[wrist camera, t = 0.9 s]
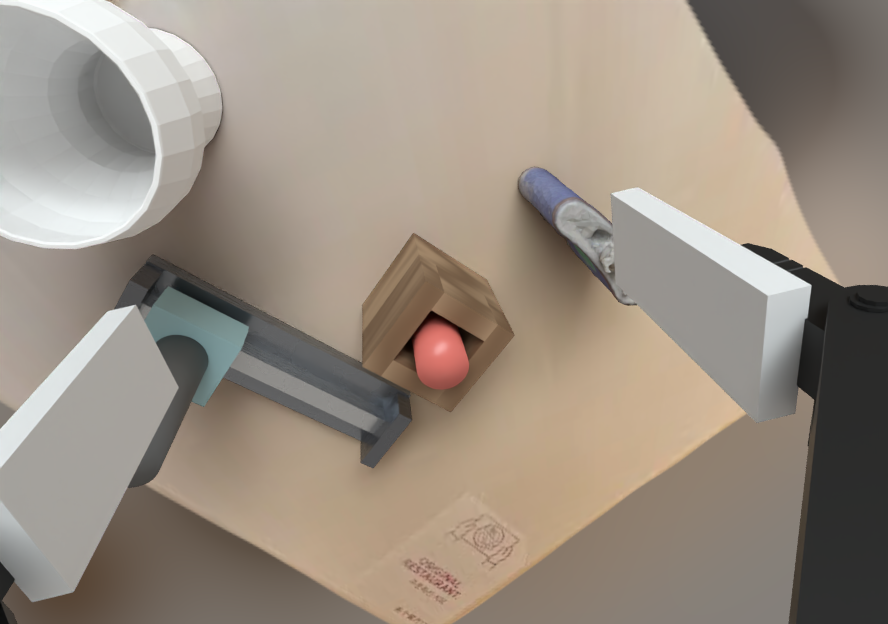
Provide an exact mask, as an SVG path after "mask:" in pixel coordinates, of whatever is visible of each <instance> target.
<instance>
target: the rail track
mask: <svg viewBox="0 0 888 624" xmlns="http://www.w3.org/2000/svg"><path fill="white" fill-rule="evenodd" d="M168 286H169V287H171V288H173V289H175V290H177V291H179V292H181V293H183V294H185V295H187V296H189V297H191V298H193V299H195V300H197V301H199V302H201V303H203V304H205V305H207V306H209V307H211V308H213V309H215V310H217V311H219V312H221V313H223V314H225V315H227V316H229V317H231V318H233V319H235V320H237V321H239V322H240V323H242V324H244V325H246V326H248V327H249V329H248V330H249V331H248V333H247V336H246V338H245V341H244V344H243V346H242V348H241V350H240V352H239V353H238V355H237V356H236V358H235V359H234V361H233V362H232V364H231V366H230V367H229V369H228V370H227V372H226V373H225V375H224V376H223V378H225V379H227V380H230V381H232V382H234V383H236V384H238V385H240V386H243V387H245V388H247V389H249V390H251V391H253V392H256V393H258V394H260V395H262V396H264V397H267V398H269V399H271V400H273V401H275V402H277V403H280V404H282V405H284V406H286V407H288V408H290V409H293V410H295V411H297V412H299V413H301V414H303V415H306V416H308V417H310V418H312V419H314V420H316V421H319V422H321V423H323V424H325V425H327V426H329V427H332V428H334V429H336V430H338V431H340V432H342V433H345V434H347V435H349V436H351V437H353V438H356V439H358V440H360V441H361V463H362V464H364V465H367V466H369V467H371V468H374V467H375V466H376V464H377V463H378V462H379V461H380V459H381V458H382V457H383V456H384V454H385V453H386V452H387V451H388V449H389V448H390V447H391V446H392V444H393V443H394V442H395V441H396V440H397V438H398V437H399V436H400V435H401V433H402V432H403V431H404V430H405V428H406V427H407V426H408V425H409V423H410V422H411V421H412V415H411V407H410V399H409V398H410V396H411V395H410V391H409V390H407V389H405V388H403V387H401V386H399V385H397V384H395V383H393V382H391V381H389V380H387V379H386V378H384V377H382V376H380V375H378V374H376V373H374V372H372V371H370V370H368V369H366V368H364V367H362V363H361V362H359V361H357V360H355V359H353V358H351V357H349V356H347V355H345V354H343V353H341V352H339V351H337V350H336V349H334V348H332V347H330V346H328V345H326V344H324V343H322V342H320V341H318V340H316V339H314V338H312V337H311V336H309V335H307V334H305V333H303V332H301V331H299V330H297V329H295V328H293V327H291V326H289V325H287V324H285V323H284V322H282V321H280V320H278V319H276V318H274V317H272V316H270V315H268V314H266V313H264V312H262V311H260V310H259V309H257V308H255V307H253V306H251V305H249V304H247V303H245V302H243V301H241V300H239V299H237V298H235V297H233V296H232V295H230V294H228V293H226V292H224V291H222V290H220V289H218V288H216V287H214V286H212V285H210V284H208V283H207V282H205V281H203V280H201V279H199V278H197V277H195V276H193V275H191V274H189V273H187V272H185V271H183V270H181V269H180V268H178V267H176V266H174V265H172V264H170V263H168V262H166V261H164V260H162V259H160V258H158V257H156V256H155V255H152V256H151V257H150V258H149V259H148V260H147V262H146V264H145V265H144V266H143V267H142V268H141V269H140V270H139V271H138V272H137V273H136V274H135V275H134V276H133V277H132V278H131V279H130V281H129V283H128V284H127V286H126V288H125V290H124V292H123V294H122V296H121V298H120V299H119V301H118V303H117V305H116V307H115V309H120V308H124V307H128V306H132V305H136V306H137V308H138V310H139V312H140V314H141V316H142V317H143V319H144V320H145V319H146V317H147V315H148V313H149V312H150V310H151V308H152V306H153V304H154V303H155V302H156V301H157V299H158V298H159V297H160V295H161V294H162V293H163V292H164V290H165V289H166V288H167V287H168ZM115 309H114V310H115Z"/></svg>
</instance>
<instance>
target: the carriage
mask: <svg viewBox="0 0 888 624" xmlns="http://www.w3.org/2000/svg"><path fill="white" fill-rule="evenodd" d="M144 321H145V323H146V325H147V327H148V329H149V331H150V333H151V335H152V337H153V339H154V341H155V343H156V345H157V346H158V348H159V350H160V352H161V354H162V356H163V358H164V360H165V362H166V364H167V366H168V368H169V370H170V372H171V374H172V375H173V377H174V379H175V381H176V383H177V385H178V387H179V388H178V390H177V392H176V394H175V396H174V398H173V400H172V402H171V404H170V406H169V408H168V409H167V411H166V413H165V415H164V417H163V419H162V421H161V423H160V425H159V427H158V429H157V431H156V433H155V435H154V437H153V439H152V441H151V442H150V444H149V446H148V448H147V450H146V452H145V454H144V456H143V458H142V460H141V462H140V464H139V466H138V468H137V470H136V472H135V474H134V475H133V477H132V479H131V481H130V483H129V485H128V487H127V488H131V487H137V486H141V485H144V484H146V483H148V482H150V481H151V480H153V479H154V478H155V477H156V475H157V474H158V472H159V470H160V468H161V466H162V464H163V461H164V459H165V457H166V455H167V453H168V451H169V449H170V446H171V444H172V442H173V440H174V438H175V436H176V434H177V431H178V429H179V427H180V425H181V423H182V421H183V418H184V416H185V414H186V412H187V410H188V408H189V406H190V403H191V402H194V403H196V404H198V405H201V406H203V407H204V406H205V405H206V403H207V401H208V400H209V398H210V397H211V395H212V394H213V392H214V390H215V389H216V387H217V386H218V384H219V383H220V381H221V380H222V378H223V376H224V375H225V373H226V372H227V370H228V369H229V367H230V366H231V364H232V362H233V361H234V359H235V358H236V356H237V355H238V353H239V352H240V350H241V348H242V346H243V344H244V341H245V338H246V336H247V333H248V331H249V330H248V329H249V327H248V326H246V325H244V324H242V323H240V322H239V321H237V320H235V319H233V318H231V317H229V316H227V315H225V314H223V313H221V312H219V311H217V310H215V309H213V308H211V307H209V306H207V305H205V304H203V303H201V302H199V301H197V300H195V299H193V298H191V297H189V296H187V295H185V294H183V293H181V292H179V291H177V290H175V289H173V288H171V287H169V286H168V287H167V288H166V289H165V290H164V292H163V293H162V294H161V295H160V297H159V298H158V299H157V301H156V302H155V303H154V304H153V306H152V308H151V310H150V312H149V313H148V315H147V317H146V319H145V320H144Z"/></svg>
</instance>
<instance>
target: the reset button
mask: <svg viewBox="0 0 888 624" xmlns="http://www.w3.org/2000/svg"><path fill="white" fill-rule="evenodd" d="M411 338H412V344H413V350H414V357H415V363H416V369H417V374H418V377H419V379H420V380H421V381H422V383H424V384H425V385H426V386H428V387H430V388H433V389H439V390H443V389H449V388H452V387H454V386H456V385H458V384H459V383H460V382H462V381H463V380H464V378H465V377H466V375H467V373H468V370H469V361H468V357H467V354H466V351H465V348H464V345H463V342H462V339H461V336H460V332H459V329H458V326H457V325H456V324H454V323H452V322H451V321H449V320H447V319H446V318H444V317H442V316H441V315H439V314H437V313H435V312H434V311H430V312H429V314H428V315H427V316H426V318H425V319H424V320H423V322H422V323H421V324H420V326H419V327H418V328H417V329H416V331H415V332H414V333H413V335H412V336H411Z"/></svg>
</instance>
